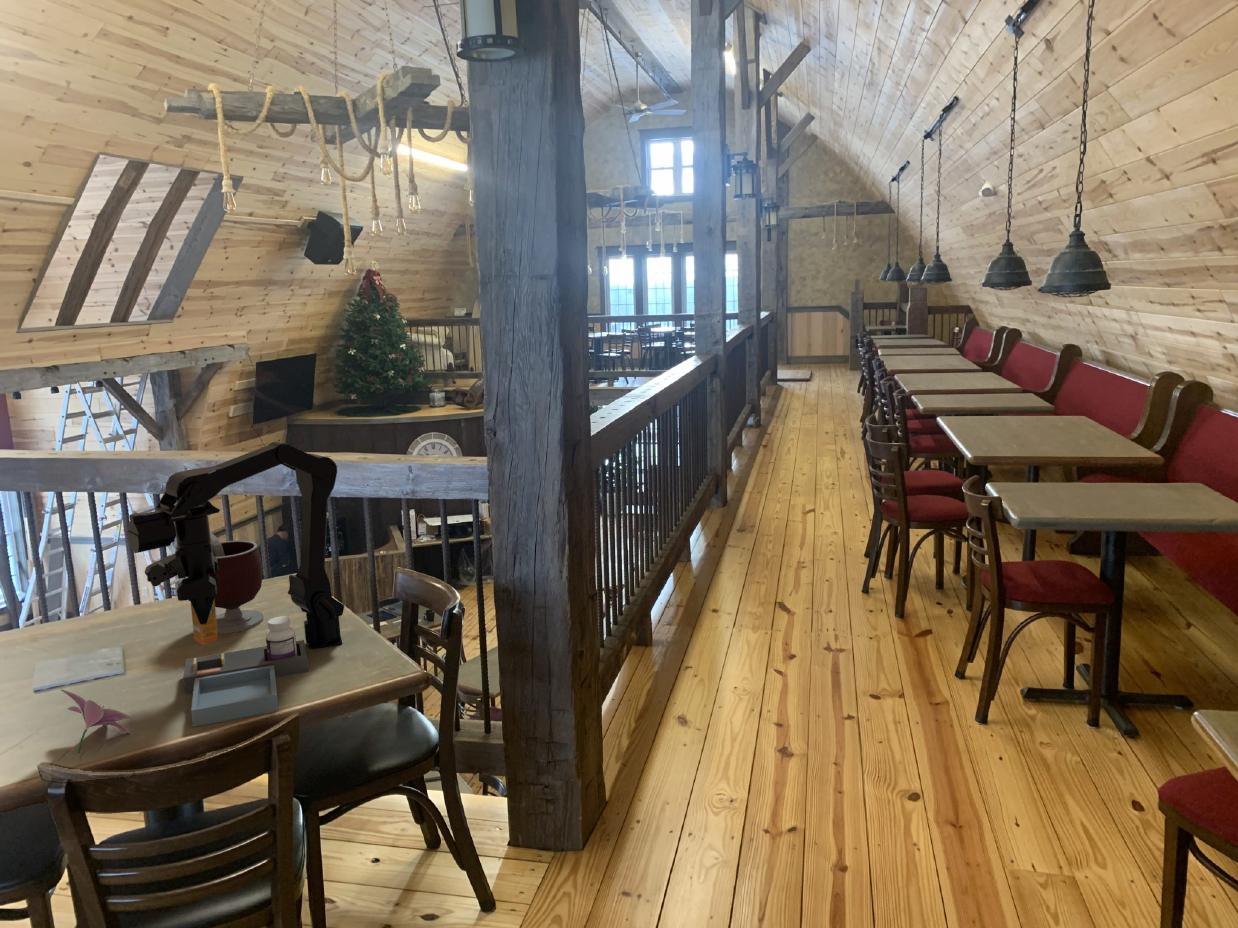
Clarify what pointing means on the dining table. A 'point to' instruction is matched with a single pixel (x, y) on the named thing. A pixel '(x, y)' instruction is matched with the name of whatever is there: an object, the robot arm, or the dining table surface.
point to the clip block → (242, 664)
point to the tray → (234, 695)
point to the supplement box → (205, 627)
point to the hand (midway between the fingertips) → (203, 619)
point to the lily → (96, 714)
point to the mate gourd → (236, 583)
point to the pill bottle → (280, 639)
